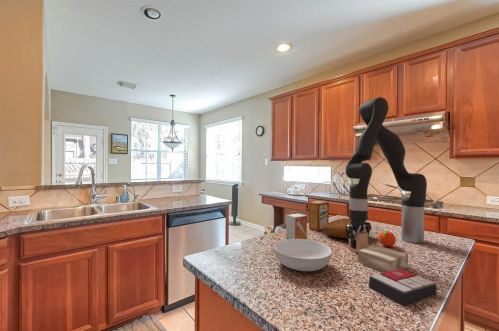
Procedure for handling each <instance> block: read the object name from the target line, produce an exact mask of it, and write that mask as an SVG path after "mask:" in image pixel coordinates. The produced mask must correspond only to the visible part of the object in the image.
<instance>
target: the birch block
mask: <svg viewBox="0 0 499 331" xmlns="http://www.w3.org/2000/svg"><path fill="white" fill-rule="evenodd" d="M357 258H358V260H357V262H358V264H361V265H363V264H364V266H366V267H369V268H372V269H374V270H377V271H380V272H381V273H385V272H389V271H394V270H399V269H401V270H404V269H407V268H408V267H409V264H408V263H409V254H408V253H405V252H402V251H399V250H395V249H391V248H389V247H388V248H387V247H386V246H382V245H377V244H375V245H370V246H368V248H364V249H361V250H358V253H357Z"/></svg>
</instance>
